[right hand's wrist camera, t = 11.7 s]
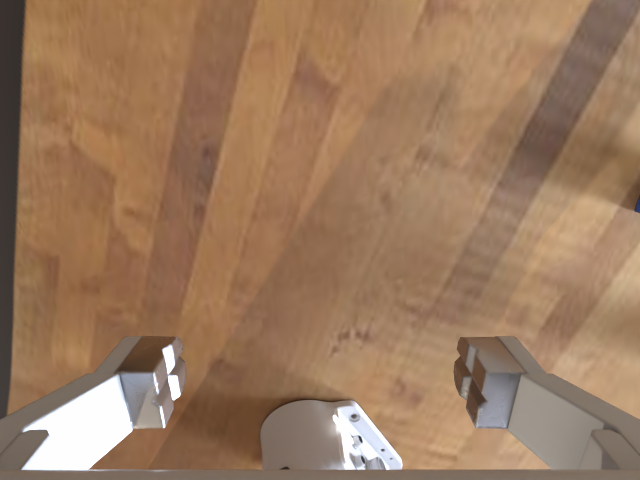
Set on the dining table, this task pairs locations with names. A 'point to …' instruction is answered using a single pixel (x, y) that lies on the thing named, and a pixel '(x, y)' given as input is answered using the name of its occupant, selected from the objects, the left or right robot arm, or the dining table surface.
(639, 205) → the brick
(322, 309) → the dining table surface
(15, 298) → the dining table surface
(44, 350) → the dining table surface
